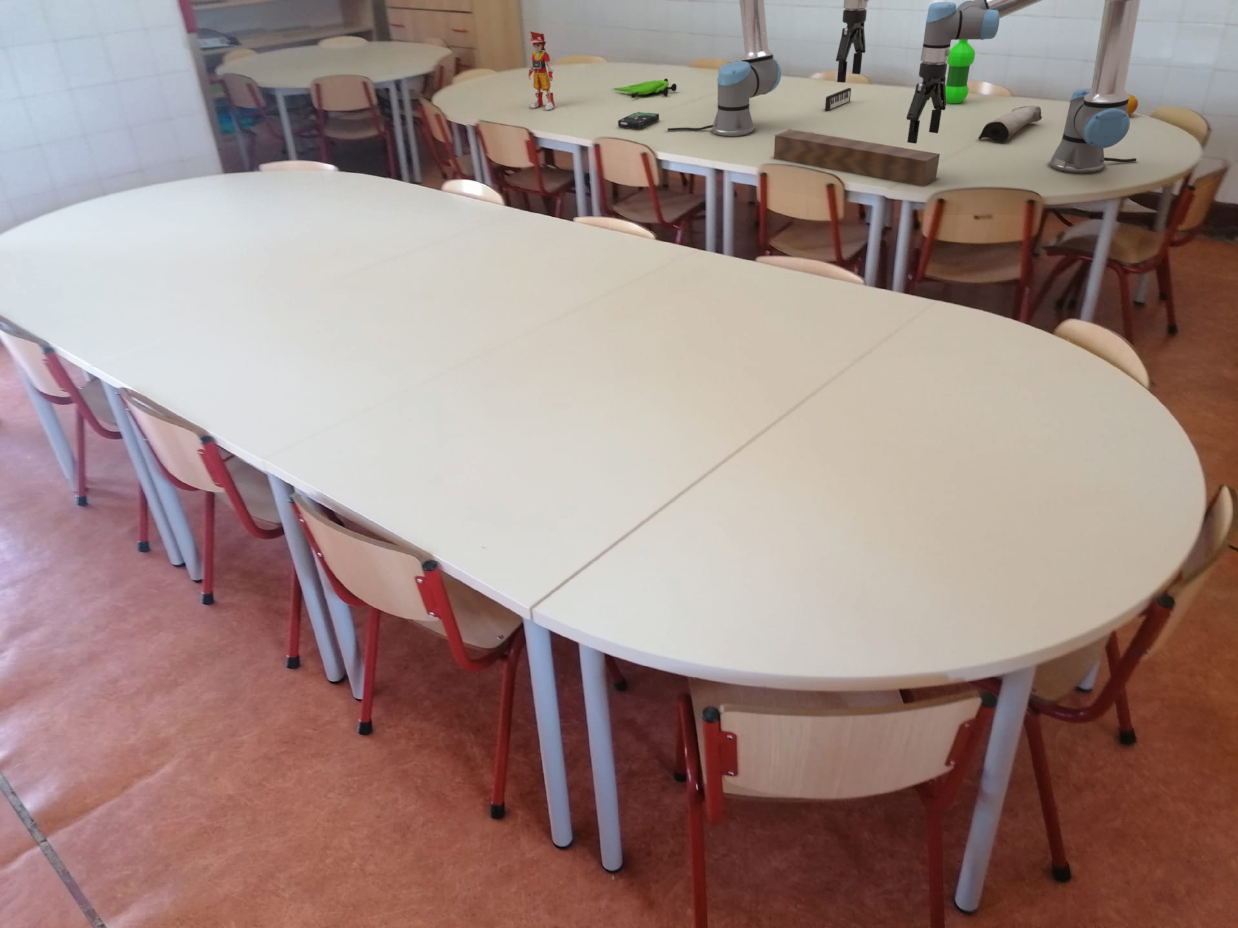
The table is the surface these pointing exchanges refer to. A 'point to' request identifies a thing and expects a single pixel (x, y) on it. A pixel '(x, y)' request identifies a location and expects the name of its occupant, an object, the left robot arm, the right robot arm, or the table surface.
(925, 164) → the thick board
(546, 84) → the toy
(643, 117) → the disk drive
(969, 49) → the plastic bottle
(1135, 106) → the fruit
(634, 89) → the toy
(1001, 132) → the rolled mat
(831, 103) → the midi keyboard
